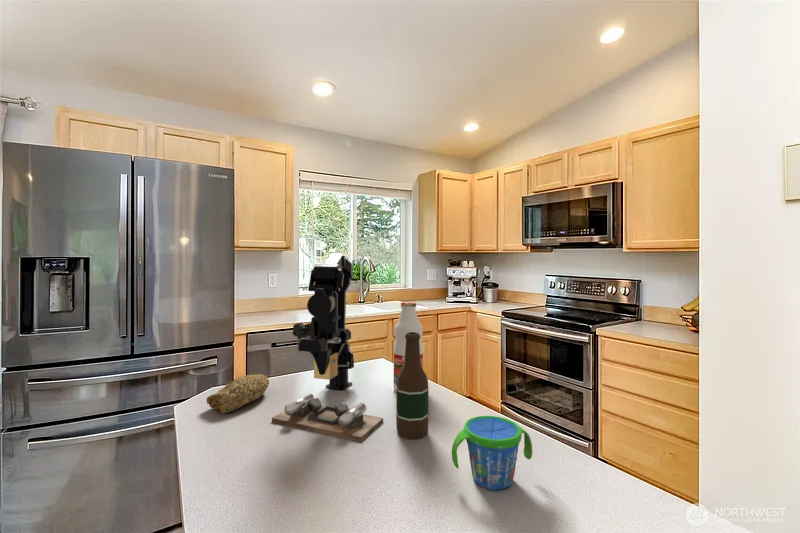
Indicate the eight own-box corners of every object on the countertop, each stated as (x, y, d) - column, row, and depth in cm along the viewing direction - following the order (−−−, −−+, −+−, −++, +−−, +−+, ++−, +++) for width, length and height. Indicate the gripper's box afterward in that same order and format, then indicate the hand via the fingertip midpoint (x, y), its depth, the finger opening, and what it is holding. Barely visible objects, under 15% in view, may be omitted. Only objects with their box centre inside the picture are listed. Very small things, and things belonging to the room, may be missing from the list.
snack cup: (458, 500, 65) (459, 442, 65) (445, 466, 76) (445, 416, 76) (545, 495, 67) (545, 438, 67) (520, 463, 77) (520, 413, 77)
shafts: (306, 404, 103) (306, 391, 103) (366, 415, 96) (366, 401, 96) (284, 416, 95) (284, 402, 95) (347, 430, 88) (347, 414, 88)
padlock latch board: (300, 405, 107) (300, 393, 107) (383, 421, 96) (383, 408, 96) (271, 421, 96) (271, 408, 96) (360, 441, 86) (361, 426, 86)
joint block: (338, 375, 100) (338, 352, 100) (330, 379, 96) (330, 356, 96) (321, 373, 102) (321, 351, 102) (312, 378, 97) (313, 354, 97)
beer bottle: (426, 441, 86) (426, 337, 86) (392, 438, 88) (393, 335, 87) (430, 426, 94) (430, 330, 93) (399, 424, 95) (399, 329, 95)
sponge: (231, 422, 99) (286, 384, 116) (222, 394, 98) (279, 361, 115) (202, 420, 106) (258, 385, 123) (193, 394, 105) (251, 363, 122)
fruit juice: (425, 386, 123) (426, 301, 123) (419, 396, 114) (419, 304, 114) (398, 383, 126) (398, 300, 125) (389, 393, 117) (389, 303, 116)
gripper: (316, 307, 110) (316, 361, 110) (278, 315, 92) (278, 379, 92) (352, 309, 107) (351, 364, 107) (319, 317, 89) (319, 383, 89)
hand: (326, 372), depth 99 cm, fingers closed on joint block, 4 cm apart
